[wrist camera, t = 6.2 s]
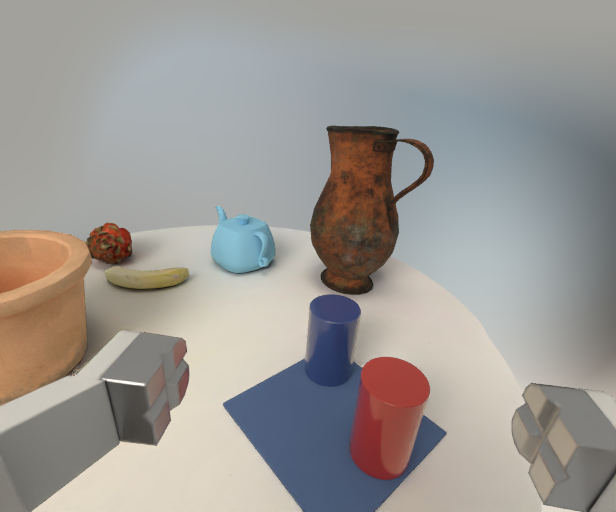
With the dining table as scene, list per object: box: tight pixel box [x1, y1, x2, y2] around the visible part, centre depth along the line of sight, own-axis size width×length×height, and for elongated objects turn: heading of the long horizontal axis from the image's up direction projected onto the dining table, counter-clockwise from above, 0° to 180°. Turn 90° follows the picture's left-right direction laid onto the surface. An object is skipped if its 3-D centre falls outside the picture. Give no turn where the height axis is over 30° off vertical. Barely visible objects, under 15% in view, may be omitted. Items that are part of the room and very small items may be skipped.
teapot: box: [211, 206, 275, 273], centre depth 74 cm, size 13×11×18 cm
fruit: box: [105, 266, 189, 289], centre depth 65 cm, size 7×15×3 cm, turn 84°
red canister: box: [349, 357, 430, 480], centre depth 35 cm, size 6×6×10 cm
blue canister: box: [305, 295, 361, 387], centre depth 45 cm, size 6×6×10 cm
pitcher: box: [310, 126, 434, 294], centre depth 64 cm, size 17×21×30 cm
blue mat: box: [223, 359, 447, 512], centre depth 41 cm, size 19×18×1 cm
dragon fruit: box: [86, 223, 132, 264], centre depth 72 cm, size 8×8×12 cm
